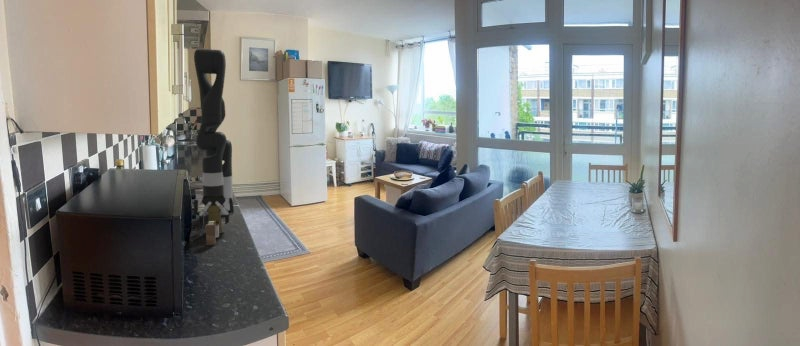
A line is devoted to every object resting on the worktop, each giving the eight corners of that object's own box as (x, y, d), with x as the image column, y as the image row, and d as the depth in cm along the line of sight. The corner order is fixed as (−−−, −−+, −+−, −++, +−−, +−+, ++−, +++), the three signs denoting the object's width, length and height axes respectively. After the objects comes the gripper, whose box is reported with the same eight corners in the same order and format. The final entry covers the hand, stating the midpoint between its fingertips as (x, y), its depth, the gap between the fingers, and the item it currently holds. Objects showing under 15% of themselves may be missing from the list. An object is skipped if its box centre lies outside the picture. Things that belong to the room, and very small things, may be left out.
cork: (225, 229, 182) (225, 202, 181) (218, 234, 176) (217, 206, 175) (211, 229, 183) (210, 202, 181) (203, 233, 177) (202, 205, 175)
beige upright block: (207, 240, 168) (207, 221, 167) (216, 240, 169) (215, 220, 168) (206, 245, 163) (205, 225, 162) (215, 244, 164) (214, 224, 163)
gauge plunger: (207, 234, 174) (206, 218, 173) (219, 234, 175) (219, 217, 174) (206, 238, 170) (205, 221, 169) (219, 237, 171) (218, 220, 170)
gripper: (233, 181, 182) (234, 220, 185) (194, 182, 178) (196, 222, 181) (232, 184, 175) (233, 225, 178) (191, 185, 171) (193, 228, 174)
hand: (214, 224), depth 179 cm, fingers open, 8 cm apart
